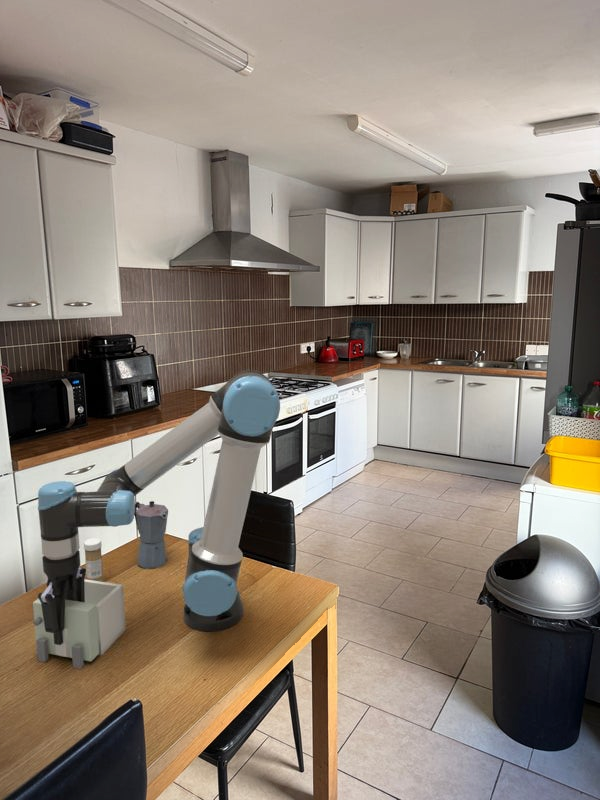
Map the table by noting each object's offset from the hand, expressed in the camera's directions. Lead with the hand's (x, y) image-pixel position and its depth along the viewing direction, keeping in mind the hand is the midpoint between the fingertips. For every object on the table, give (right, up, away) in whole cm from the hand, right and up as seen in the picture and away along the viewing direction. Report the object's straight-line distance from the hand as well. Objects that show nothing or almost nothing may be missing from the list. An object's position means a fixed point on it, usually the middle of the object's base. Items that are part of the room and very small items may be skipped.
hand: (67, 649), depth 125 cm
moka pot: (+7, +6, +46) cm, 47 cm away
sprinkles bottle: (-5, +4, +31) cm, 32 cm away
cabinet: (+1, -1, +5) cm, 5 cm away
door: (0, -1, 0) cm, 1 cm away
